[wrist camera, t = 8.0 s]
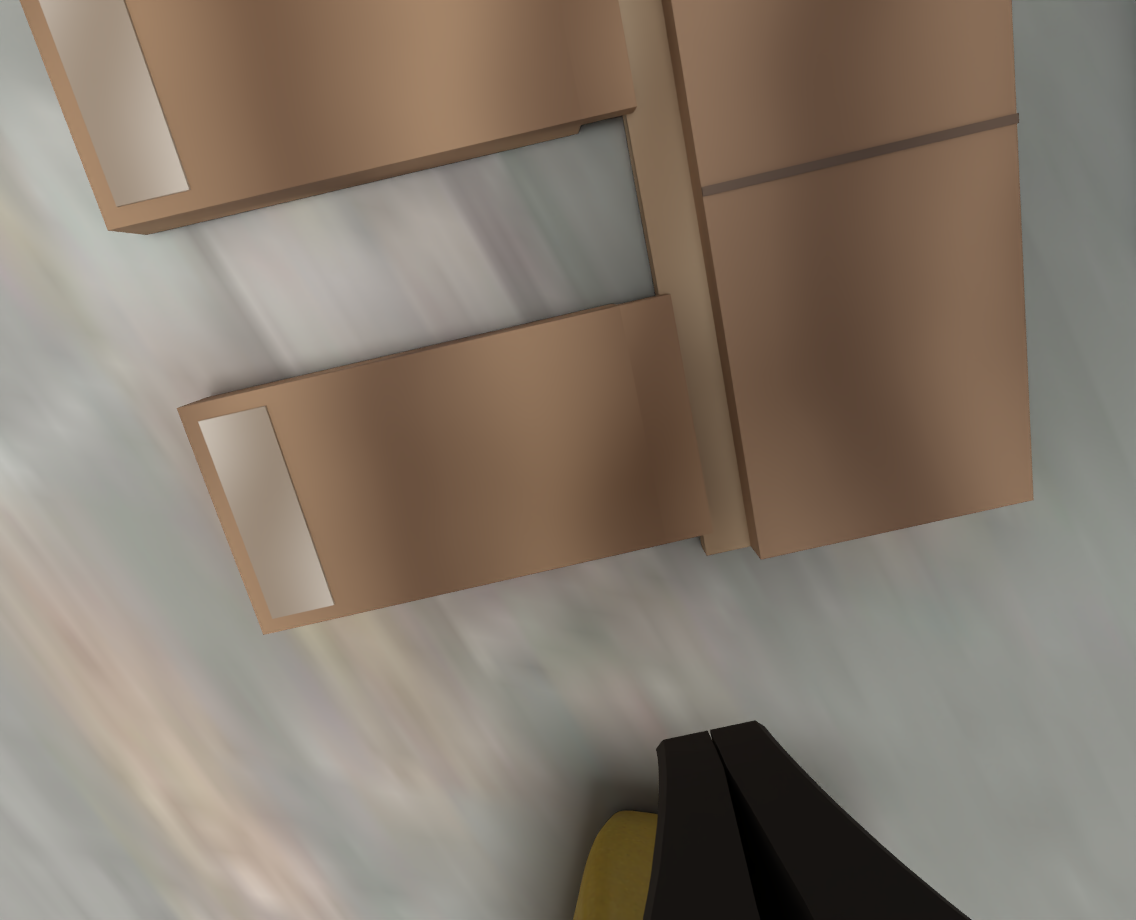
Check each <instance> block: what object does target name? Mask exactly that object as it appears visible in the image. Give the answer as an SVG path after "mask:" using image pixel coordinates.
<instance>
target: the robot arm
mask: <svg viewBox="0 0 1136 920" xmlns="http://www.w3.org/2000/svg"><path fill="white" fill-rule="evenodd" d="M710 732H711V737H712V740H711V737H710V735H709V733H708V731H703V732H698V733H694V734H689V735H684V736H680V737H675V738H670V739H665V740H663V741H662V742H661V743H660V745H659V746H658V747H657V749H656V751H657V757H658V766H659V802H658V817H657V828H656V837H655V845H654V853H653V861H652V869H651V877H650V883H649V889H648V895H647V900H646V905H645V910H644V915H643V920H971V919H970V918H969V917H967V916H966V915H965V914H964V913H962V912H961V911H960V910H959V909H957V908H956V907H955V906H954V905H952V904H951V903H950V902H949V901H947V900H946V899H945V898H944V897H942V896H941V895H940V894H939V893H938V892H936V891H935V890H934V889H933V888H932V887H930V886H929V885H928V884H927V883H926V882H924V881H923V880H922V879H921V878H920V877H918V876H917V875H916V874H915V873H914V872H912V871H911V870H910V869H909V868H908V867H907V866H905V865H904V864H903V863H902V862H901V861H900V860H898V859H897V858H896V857H895V856H894V855H893V854H892V853H890V852H889V851H888V850H887V849H886V848H885V847H884V846H882V845H881V844H880V843H879V842H878V841H877V840H876V839H875V838H874V837H873V836H872V835H870V834H869V833H868V832H867V831H866V830H865V829H864V828H863V827H862V826H861V825H860V824H859V823H857V822H856V821H855V820H854V819H853V818H852V817H851V816H850V815H849V814H848V813H847V812H846V811H845V810H843V809H842V808H841V807H840V806H839V805H838V804H837V803H836V802H835V801H834V800H833V799H832V798H831V797H830V796H829V795H828V794H827V793H826V792H825V791H824V790H823V789H822V788H821V787H820V786H819V785H818V784H817V783H816V782H815V781H814V780H813V779H812V778H811V777H810V776H809V775H808V774H807V773H806V772H805V771H804V770H803V769H802V768H801V767H800V766H799V765H798V764H797V763H796V762H795V761H794V759H793V758H792V757H791V756H790V755H789V754H788V753H787V752H786V751H785V750H784V749H783V747H782V746H781V745H780V744H779V743H778V742H777V741H776V740H775V738H774V737H773V736H772V735H771V734H770V733H769V731H768V730H767V729H766V728H765V726H763V725H761V724H760V723H758V722H757V721H750V722H746V723H741V724H736V725H731V726H727V727H722V728H717V729H713V730H710Z"/></svg>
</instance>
